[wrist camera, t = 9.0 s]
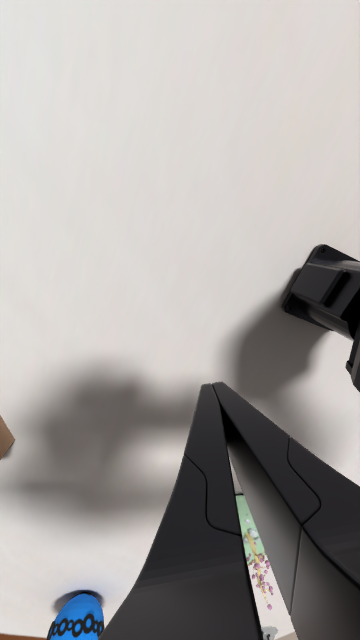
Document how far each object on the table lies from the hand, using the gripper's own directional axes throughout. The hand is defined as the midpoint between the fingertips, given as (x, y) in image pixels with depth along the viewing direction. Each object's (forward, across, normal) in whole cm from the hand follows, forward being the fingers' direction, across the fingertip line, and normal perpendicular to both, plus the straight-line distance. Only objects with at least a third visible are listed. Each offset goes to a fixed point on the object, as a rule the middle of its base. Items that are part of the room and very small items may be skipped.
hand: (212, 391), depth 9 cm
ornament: (+12, +25, +50) cm, 57 cm away
